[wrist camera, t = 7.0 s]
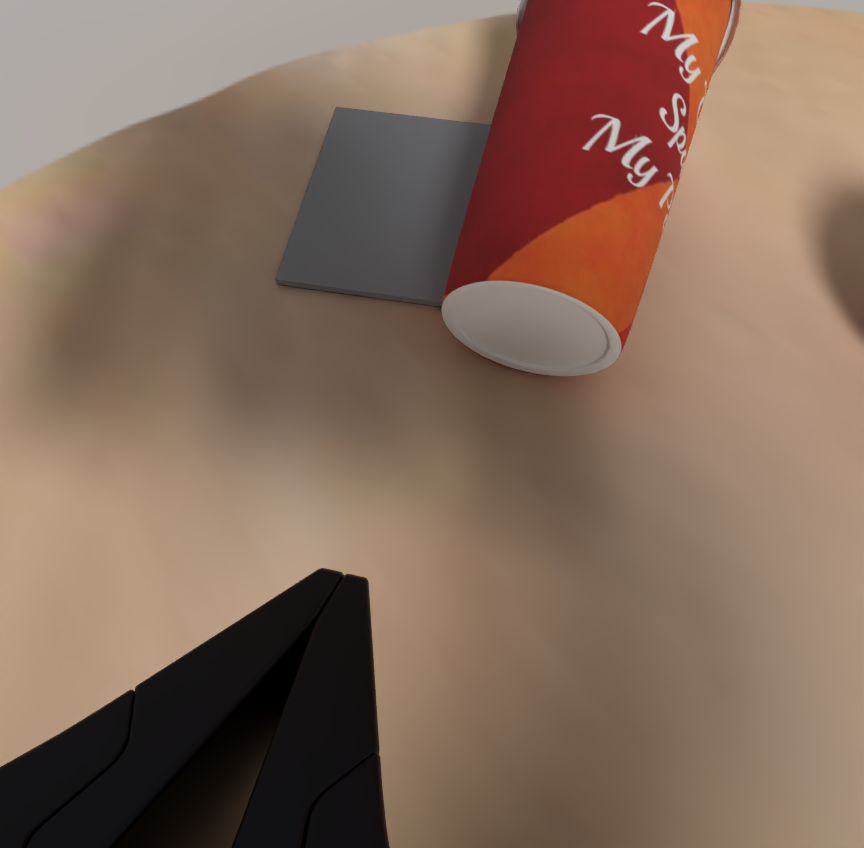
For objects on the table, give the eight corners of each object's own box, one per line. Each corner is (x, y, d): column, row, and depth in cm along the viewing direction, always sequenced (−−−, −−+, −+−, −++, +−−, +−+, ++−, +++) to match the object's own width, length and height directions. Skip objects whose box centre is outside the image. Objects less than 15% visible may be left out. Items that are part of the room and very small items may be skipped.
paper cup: (687, 268, 10) (782, -162, 14) (366, 241, 13) (512, -108, 16) (648, 407, 17) (718, 101, 21) (446, 370, 20) (536, 107, 23)
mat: (617, 146, 22) (619, 140, 22) (613, 330, 19) (616, 325, 18) (337, 113, 23) (335, 107, 23) (277, 284, 19) (275, 279, 19)
